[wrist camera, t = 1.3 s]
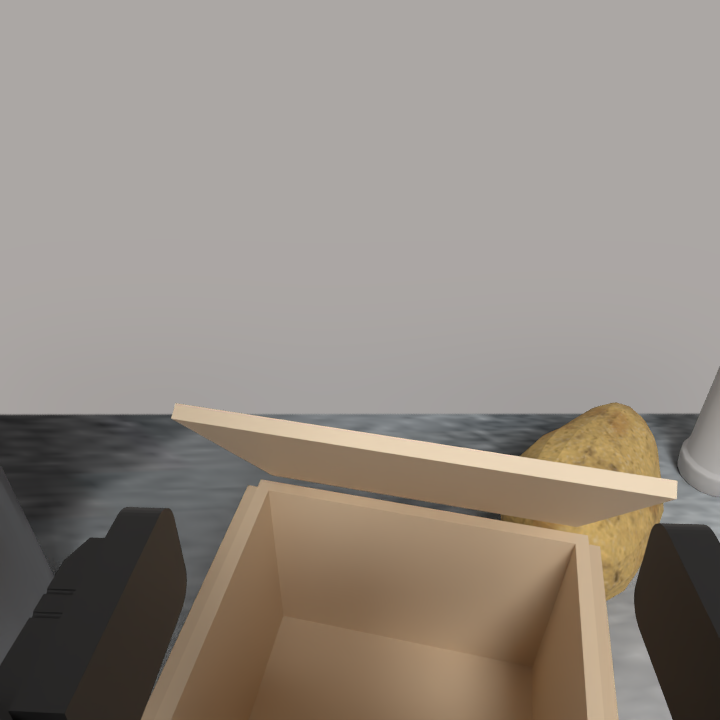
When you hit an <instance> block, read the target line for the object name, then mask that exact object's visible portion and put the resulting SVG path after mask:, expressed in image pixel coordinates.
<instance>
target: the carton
mask: <svg viewBox="0 0 720 720" xmlns="http://www.w3.org/2000/svg"><path fill="white" fill-rule="evenodd" d="M141 720H618V711H617V701H616V692H615V683H614V673H613V664H612V654H611V645H610V635H609V626H608V616H607V607H606V597H605V588H604V579H603V569H602V560H601V550H600V546H595V545H590V544H589V541H588V535H582V534H576V533H570V532H564V531H559V530H553V529H547V528H541V527H535V526H529V525H524V524H518V523H512V522H506V521H500V520H494V519H489V518H483V517H477V516H471V515H465V514H459V513H454V512H448V511H442V510H436V509H430V508H424V507H419V506H413V505H407V504H401V503H395V502H389V501H384V500H378V499H372V498H366V497H360V496H354V495H349V494H343V493H337V492H331V491H325V490H320V489H314V488H308V487H302V486H296V485H290V484H285V483H279V482H273V481H267V480H260V483H259V485H258V487H256V486H250V485H248V487H247V489H246V491H245V493H244V495H243V497H242V500H241V502H240V504H239V506H238V508H237V510H236V513H235V515H234V517H233V519H232V521H231V523H230V526H229V528H228V530H227V532H226V534H225V536H224V539H223V541H222V543H221V545H220V547H219V549H218V552H217V554H216V556H215V558H214V560H213V562H212V565H211V567H210V569H209V571H208V573H207V575H206V578H205V580H204V582H203V584H202V586H201V588H200V591H199V593H198V595H197V597H196V599H195V601H194V604H193V606H192V608H191V610H190V612H189V614H188V616H187V619H186V621H185V623H184V625H183V627H182V629H181V632H180V634H179V636H178V638H177V640H176V642H175V645H174V647H173V649H172V651H171V653H170V655H169V658H168V660H167V662H166V664H165V666H164V668H163V671H162V673H161V675H160V677H159V679H158V681H157V684H156V686H155V688H154V690H153V692H152V694H151V697H150V699H149V701H148V703H147V705H146V707H145V710H144V713H143V716H142V718H141Z"/></svg>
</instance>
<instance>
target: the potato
mask: <svg viewBox="0 0 720 720" xmlns="http://www.w3.org/2000/svg"><path fill="white" fill-rule="evenodd" d="M520 457H526V458H532V459H539V460H545V461H552V462H558V463H565V464H571V465H578V466H584V467H591V468H597V469H603V470H610V471H616V472H623V473H629V474H636V475H642V476H649V477H655V478H661V475H660V468H659V459H658V450H657V446H656V442H655V439H654V436H653V434H652V433H651V431H650V429H649V427H648V425H647V424H646V422H645V421H644V419H643V418H642V417H641V416H640V415H639V414H637V413H636V412H635V411H634V410H633V409H632V408H631V407H629V406H626V405H623V404H619V403H610V404H606V405H602V406H598V407H595V408H592V409H590V410H589V411H587V412H585V413H584V414H582V415H580V416H579V417H577V418H575V419H574V420H572V421H570V422H569V423H567V424H566V425H564V426H562V427H561V428H559V429H556V430H554V431H552V432H550V433H547V434H545V435H543V436H542V437H541V438H540V439H539V440H537V441H536V442H535V443H534V444H533V445H532V446H531V447H530V448H528V449H527V450H526V451H525V452H524V453H523V454H522V455H521V456H520ZM662 513H663V503H661V504H657V505H654V506H650V507H646V508H643V509H639V510H636V511H632V512H629V513H625V514H622V515H618V516H615V517H611V518H608V519H604V520H601V521H597V522H594V523H590V524H586V525H583V526H579V527H573V526H567V525H561V524H555V523H550V522H544V521H538V520H532V519H526V518H520V517H514V516H508V515H502V514H501V521H506V522H512V523H518V524H524V525H529V526H535V527H541V528H547V529H553V530H559V531H564V532H570V533H576V534H582V535H588V541H589V544H590V545H595V546H600V550H601V560H602V569H603V579H604V588H605V597H606V601H607V600H609V599H610V598H612V597H614V596H616V595H617V594H619V593H621V592H622V591H624V590H625V589H626V587H627V586H628V584H629V583H630V581H631V580H632V578H633V577H634V576H635V574H636V573H637V571H638V569H639V567H640V565H641V563H642V561H643V557H644V553H645V550H646V546H647V542H648V539H649V535H650V532H651V529H652V527H653V526H654V525H655V524H657V523H659V522H660V519H661V516H662Z"/></svg>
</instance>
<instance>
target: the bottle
mask: <svg viewBox="0 0 720 720" xmlns="http://www.w3.org/2000/svg"><path fill="white" fill-rule="evenodd" d="M678 469H679V471H680V474H681V476H682V477H683V478H684V479H685V480H686V482H687V483H688V484H690V485H691V486H693V487H694V488H696V489H697V490H699V491H700V492H703V493H706V494H709V495H711V496H716V497H720V367H719V370H718V372H717V374H716V377H715V379H714V381H713V384H712V386H711V388H710V391H709V393H708V396H707V398H706V400H705V403H704V405H703V408H702V410H701V412H700V415H699V417H698V419H697V422H696V424H695V427H694V429H693V431H692V434H691V436H690V437H689V438H688V439H686V440H685V441H684V442H683V444H682V447H681V450H680V453H679V458H678Z"/></svg>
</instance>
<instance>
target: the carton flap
mask: <svg viewBox="0 0 720 720" xmlns="http://www.w3.org/2000/svg"><path fill="white" fill-rule="evenodd" d="M171 419H173V420H175V421H177V422H178V423H180V424H182V425H184V426H185V427H187V428H189V429H191V430H193V431H194V432H196V433H198V434H200V435H201V436H203V437H205V438H207V439H208V440H210V441H212V442H214V443H216V444H217V445H219V446H221V447H223V448H224V449H226V450H228V451H230V452H232V453H233V454H235V455H237V456H239V457H240V458H242V459H244V460H246V461H248V462H249V463H251V464H253V465H255V466H256V467H258V468H260V469H262V470H263V471H265V472H267V473H269V474H271V475H273V476H279V477H285V478H291V479H296V480H302V481H308V482H314V483H320V484H326V485H332V486H338V487H344V488H349V489H355V490H361V491H367V492H373V493H379V494H385V495H391V496H397V497H402V498H408V499H414V500H420V501H426V502H432V503H438V504H444V505H450V506H455V507H461V508H467V509H473V510H479V511H485V512H491V513H497V514H502V515H508V516H514V517H520V518H526V519H532V520H538V521H544V522H550V523H555V524H561V525H567V526H573V527H579V526H583V525H586V524H590V523H594V522H597V521H601V520H604V519H608V518H611V517H615V516H618V515H622V514H625V513H629V512H632V511H636V510H639V509H643V508H646V507H650V506H654V505H657V504H661V503H664V502H668V501H671V500H675V499H677V481H675V480H668V479H662V478H655V477H649V476H642V475H636V474H629V473H623V472H616V471H610V470H603V469H597V468H591V467H584V466H578V465H571V464H565V463H558V462H552V461H545V460H539V459H532V458H526V457H520V456H513V455H507V454H500V453H494V452H487V451H481V450H474V449H468V448H461V447H455V446H448V445H442V444H436V443H429V442H423V441H416V440H410V439H403V438H397V437H390V436H384V435H377V434H371V433H364V432H358V431H352V430H345V429H339V428H332V427H326V426H319V425H313V424H306V423H300V422H293V421H287V420H280V419H274V418H268V417H261V416H255V415H248V414H242V413H234V412H229V411H222V410H215V409H209V408H203V407H196V406H190V405H184V404H177V403H176V404H175V407H174V411H173V414H172V418H171Z"/></svg>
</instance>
